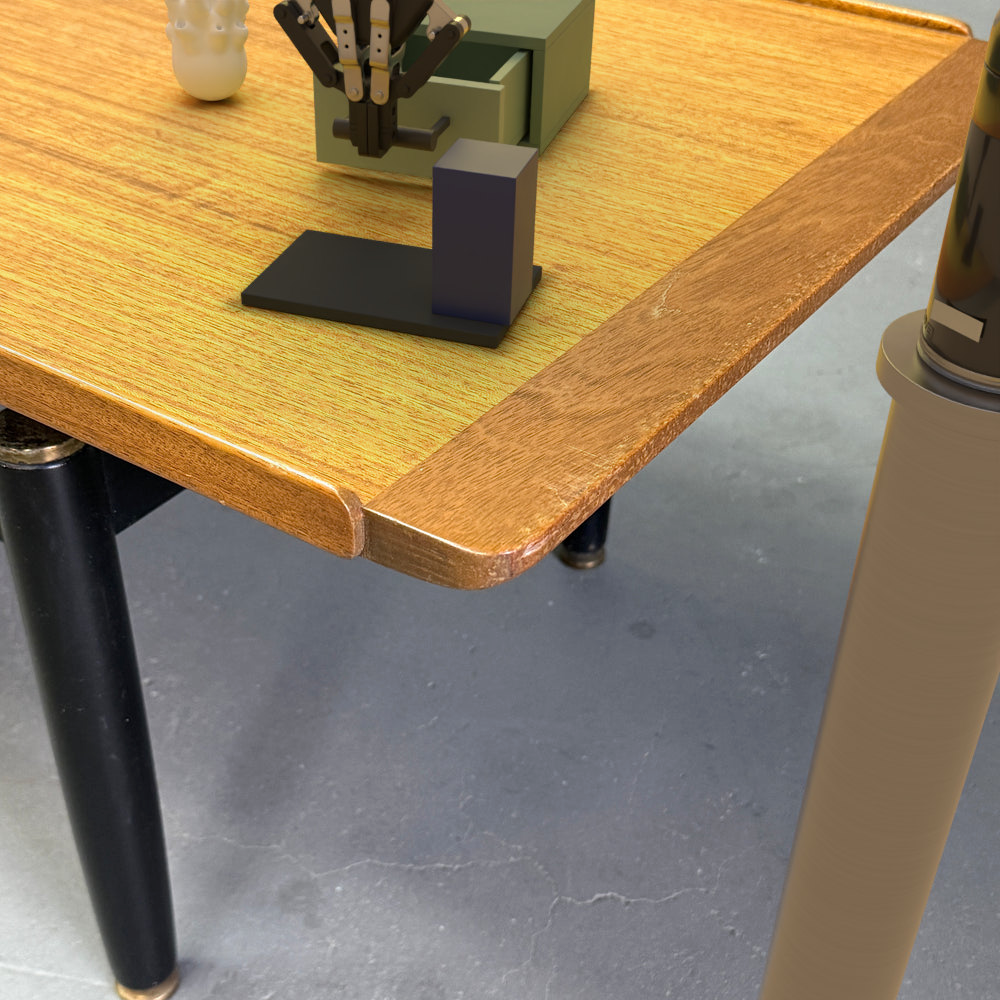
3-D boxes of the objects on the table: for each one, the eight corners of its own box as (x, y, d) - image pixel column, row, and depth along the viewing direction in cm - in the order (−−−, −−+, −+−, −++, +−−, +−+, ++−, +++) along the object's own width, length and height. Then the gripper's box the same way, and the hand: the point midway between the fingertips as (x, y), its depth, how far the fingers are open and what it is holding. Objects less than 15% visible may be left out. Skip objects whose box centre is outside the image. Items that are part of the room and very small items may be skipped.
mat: (541, 277, 88) (542, 265, 87) (496, 348, 80) (497, 336, 79) (307, 240, 91) (306, 228, 91) (241, 305, 83) (240, 292, 83)
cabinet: (539, 156, 105) (546, 38, 100) (356, 131, 108) (353, 15, 103) (589, 92, 117) (596, -15, 112) (423, 71, 121) (423, -34, 116)
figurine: (172, 84, 116) (156, -68, 109) (253, 82, 117) (243, -69, 110) (171, 113, 110) (155, -46, 103) (257, 110, 111) (246, -47, 104)
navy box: (531, 291, 84) (538, 148, 79) (510, 326, 80) (516, 178, 75) (456, 279, 85) (458, 137, 80) (431, 313, 81) (432, 166, 76)
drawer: (477, 213, 93) (479, 112, 89) (289, 185, 96) (284, 86, 92) (550, 121, 109) (555, 31, 105) (387, 99, 112) (386, 11, 108)
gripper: (239, -128, 80) (258, 160, 90) (456, -107, 78) (452, 188, 88) (290, -150, 86) (303, 123, 96) (494, -131, 84) (486, 148, 93)
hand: (374, 153), depth 92 cm, fingers closed
